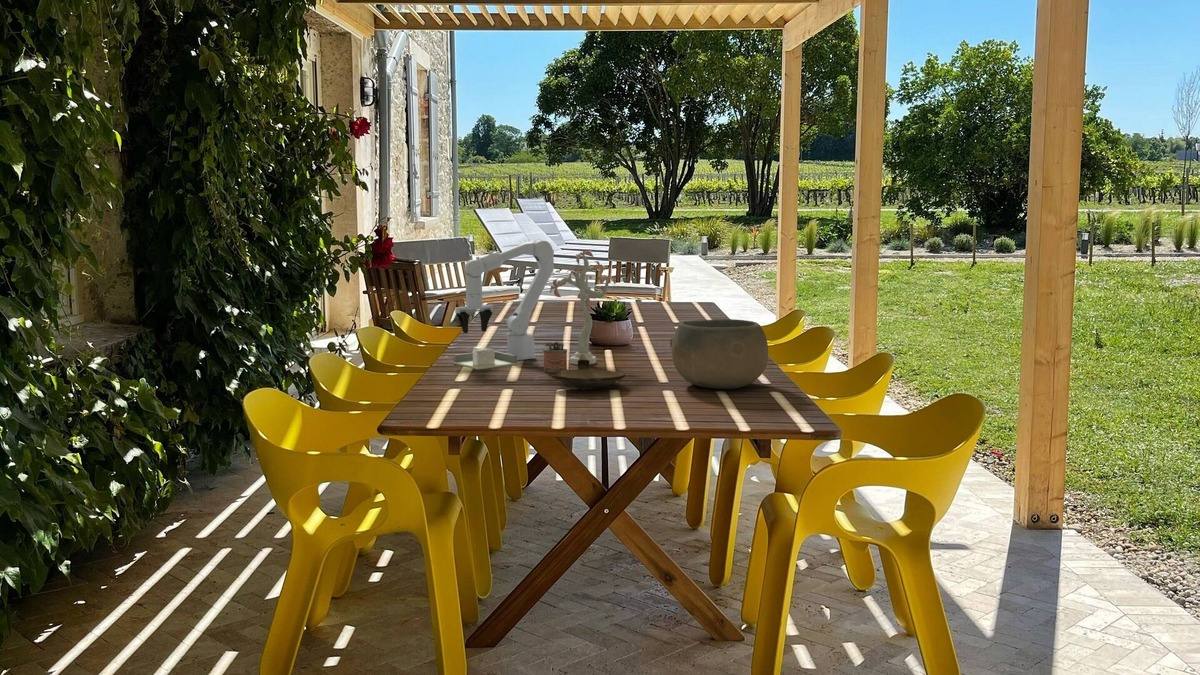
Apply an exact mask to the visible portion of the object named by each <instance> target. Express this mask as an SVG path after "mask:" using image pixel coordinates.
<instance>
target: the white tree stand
mask: <svg viewBox="0 0 1200 675" xmlns="http://www.w3.org/2000/svg"><path fill="white" fill-rule="evenodd" d="M592 252H593V250H592V249H584V250H583V251H581V252H580V253H577V254H576V255H575V258H576V260H575V261H576V263H577V264H576V266H575V267H573V269H568V270H567V271H566V273H568V272H569V274H568V277H564V278H562V279H561V280H559V281H558V278H556V279H553V280H552V285H551V286H550V290H549V293H552V291H553V290H554V291H553V294H554V296H555V297H557V298H561V294H560V292H559V291H558V288H559V287H562V286H564V285H566V284H567V283H569V284H571V285H572V286H575V287H576V288H577V289H578V290H579V292H578V294H577V297H576V298H577V299H580V300H579V301H580V302H579V303H580V307H581V310H582V312H583V315H584V319H585V320H584V322H585V323H584V326H583V328H582V330H581V332H580V333H579V336H578V342H577V351H576V352H575V353H567V356H568V355H572V356H570V357H569V359H570V360H569V363H570V364H571V365H576V366H578V360H580V355H581V354H583V355H585V357H586V359H587V360H589V366H590V365H595V364H596V363H597V357H596V356H594V355H593V354H592V352H590V351H589V344H590V336H591V331H592V328H593V319H592V316H591V314H590V312H589V310H588V308H591V306H592V302H591V300H590V299H603V298H604V296H605V295H606V294H607V291H608V290H609V279H610V280H611V281H612V282H613V284H614V285H616V282H617V281H616V278H615V277H614V276H610V275H608V276H607V275H604V274H603V272H604V269H605V268H604V266H603V263H602V264H600V261H598V260H595V261H594V263H596V264H594V265H593V266H592V267H590V266H589V265H590V264H589V260H588V258H587V256H589V257H592V258H594V255H593V253H592ZM581 257H582V260H583V266H580V265H581V264H580V259H581ZM599 269H600V275H601V274H603V275H602V276H598V277H597V280H598V281H599V284H600V285H598V286H597V287H596V290H598V289H600V290H601V291H600V292H598V291H595V290H592V289H591V287H590V286H589V280H592V278H593V276H591V275H590V274H589V275H587V273H588V272H593V271H596V270H599ZM572 275H573V276H574V277H575V280H573V279H572ZM557 281H558V282H557ZM604 282H605V284H604V286H603V285H601V284H603V283H604Z"/></svg>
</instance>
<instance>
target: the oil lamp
mask: <svg viewBox="0 0 1200 675" xmlns="http://www.w3.org/2000/svg"><path fill="white" fill-rule="evenodd" d="M550 377H551V378H552V379H554V380H555V381H557V382H558V383H561V384H563V385H566V386H568V387H571V388H573V389H579V390H580V389H587V390H588V389H602V388H606V387H608V386H610V385H613V384H615V383H616V382H618V381H620V380H622V379H624V378H625V377H626V373H625V372H624V371H623V372H622V371H617V370H609V369H593V368H590V365H589V360H587V359H586V357H585V355H583V354H581V355H580V360H578V365H577V368H576V369H567V370H561V371H558V372H556V373H555V374H551V376H550Z"/></svg>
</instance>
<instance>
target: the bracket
mask: <svg viewBox="0 0 1200 675" xmlns="http://www.w3.org/2000/svg"><path fill="white" fill-rule="evenodd" d="M472 348H473V349H472V353H473V365H476V366H481V365H489V364H495V352H494V351H495V349H493V348H488V347H485V346H473V347H472Z"/></svg>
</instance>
